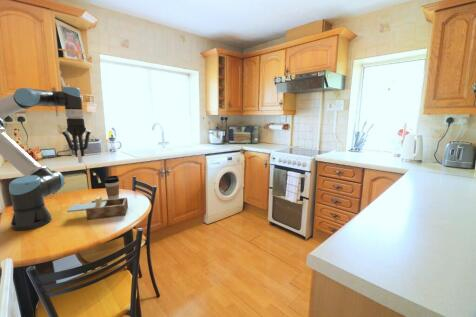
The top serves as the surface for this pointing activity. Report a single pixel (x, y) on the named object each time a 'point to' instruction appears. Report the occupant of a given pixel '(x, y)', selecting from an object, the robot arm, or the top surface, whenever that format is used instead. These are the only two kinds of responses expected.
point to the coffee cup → (112, 187)
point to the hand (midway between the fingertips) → (80, 162)
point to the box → (108, 209)
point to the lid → (87, 205)
